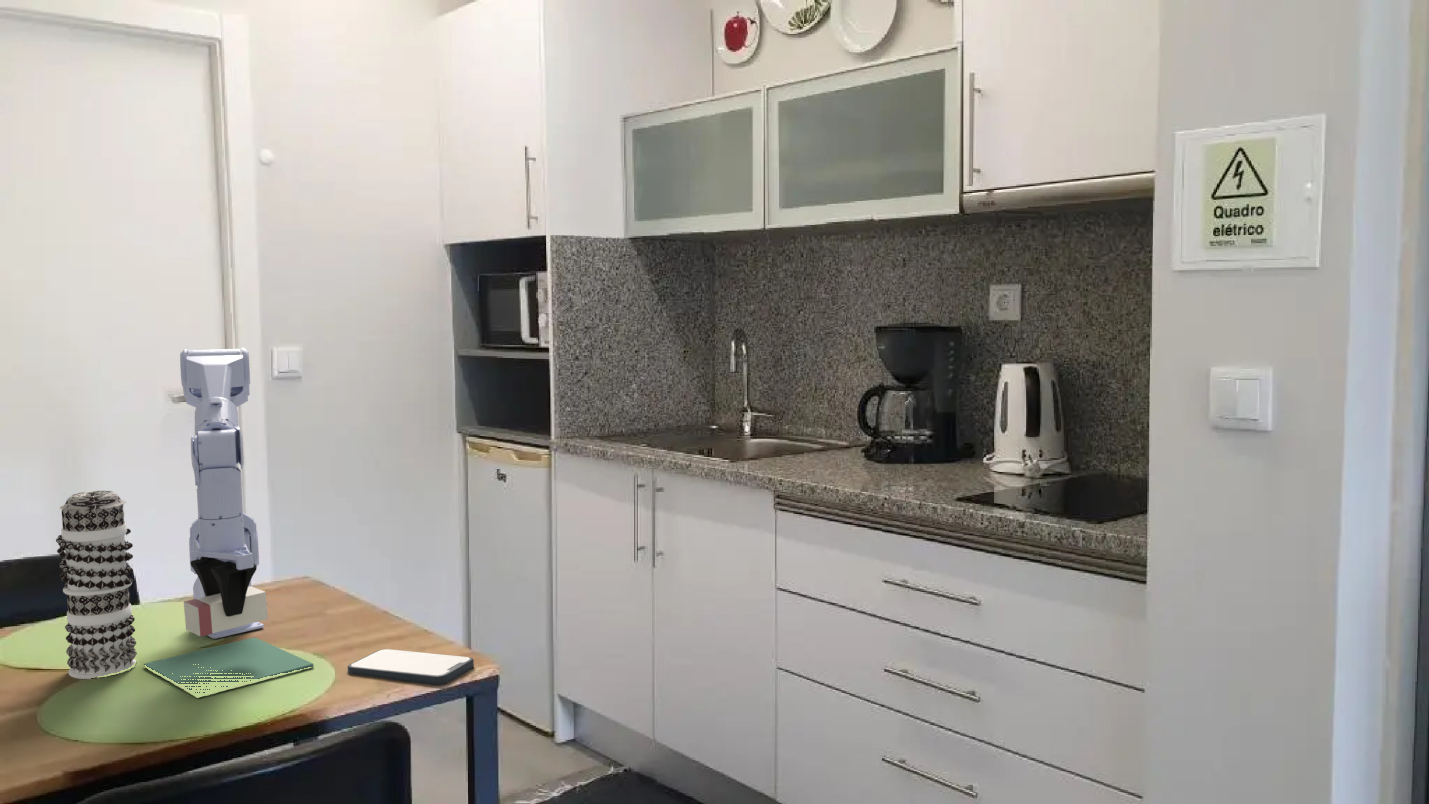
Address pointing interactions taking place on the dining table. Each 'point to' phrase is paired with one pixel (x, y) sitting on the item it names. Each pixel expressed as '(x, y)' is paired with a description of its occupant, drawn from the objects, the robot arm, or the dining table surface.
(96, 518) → the decorative candle
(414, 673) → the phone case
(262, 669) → the card mat
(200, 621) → the card deck
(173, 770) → the dining table surface
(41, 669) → the dining table surface
